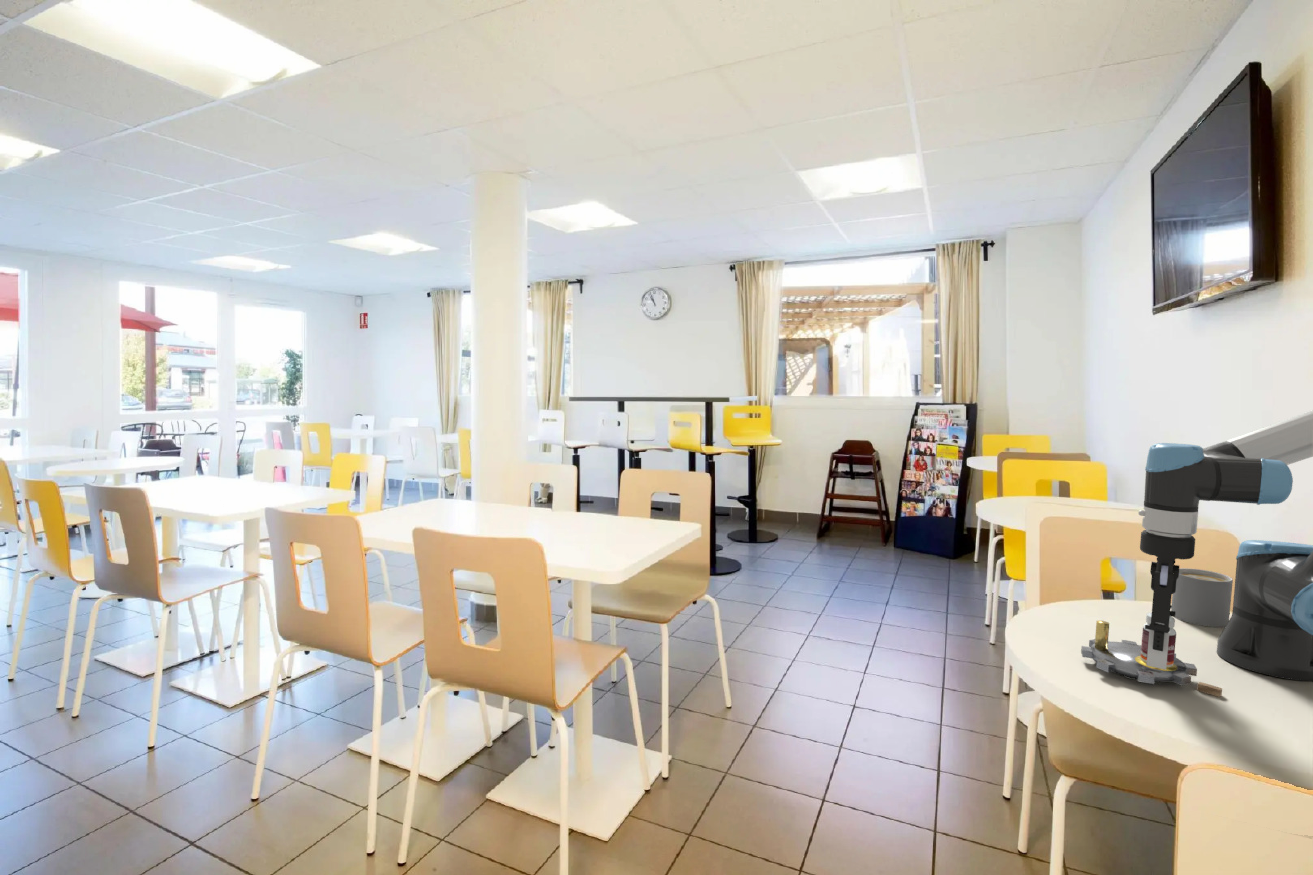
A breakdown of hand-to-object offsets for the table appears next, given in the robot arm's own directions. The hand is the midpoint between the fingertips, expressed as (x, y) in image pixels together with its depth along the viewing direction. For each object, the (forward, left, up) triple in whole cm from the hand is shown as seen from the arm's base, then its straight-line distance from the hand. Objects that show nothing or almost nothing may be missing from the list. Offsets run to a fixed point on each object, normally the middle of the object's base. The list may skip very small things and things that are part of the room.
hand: (1157, 658), depth 118 cm
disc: (+3, -1, -2) cm, 4 cm away
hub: (+3, -1, -3) cm, 4 cm away
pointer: (-7, +3, -3) cm, 8 cm away
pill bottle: (0, 0, -1) cm, 1 cm away
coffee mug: (-15, -42, -4) cm, 45 cm away
